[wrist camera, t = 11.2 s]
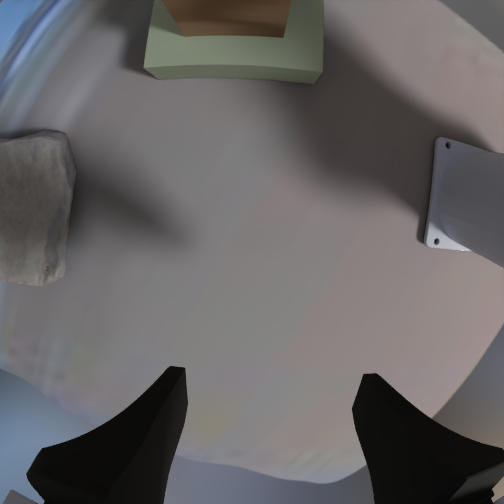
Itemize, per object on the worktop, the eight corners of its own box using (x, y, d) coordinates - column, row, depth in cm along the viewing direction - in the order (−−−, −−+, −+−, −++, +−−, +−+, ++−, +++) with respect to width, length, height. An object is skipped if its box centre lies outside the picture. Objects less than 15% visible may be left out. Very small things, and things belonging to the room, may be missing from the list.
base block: (315, -31, 15) (321, -53, 12) (313, 84, 18) (322, 72, 15) (176, -34, 15) (167, -54, 12) (158, 79, 18) (143, 68, 15)
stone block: (88, 125, 20) (-8, 140, 18) (65, 121, 16) (-39, 142, 14) (95, 270, 24) (4, 269, 22) (78, 295, 20) (-21, 291, 18)
